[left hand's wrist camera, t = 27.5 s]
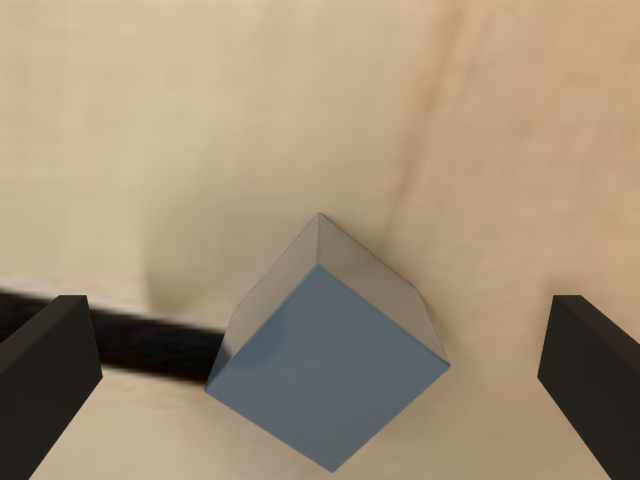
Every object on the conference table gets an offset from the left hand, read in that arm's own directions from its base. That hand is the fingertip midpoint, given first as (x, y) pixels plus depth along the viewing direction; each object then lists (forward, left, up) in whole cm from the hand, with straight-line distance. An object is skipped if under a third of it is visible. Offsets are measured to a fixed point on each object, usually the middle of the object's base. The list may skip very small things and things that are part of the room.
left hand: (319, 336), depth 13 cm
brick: (0, 0, -3) cm, 3 cm away
